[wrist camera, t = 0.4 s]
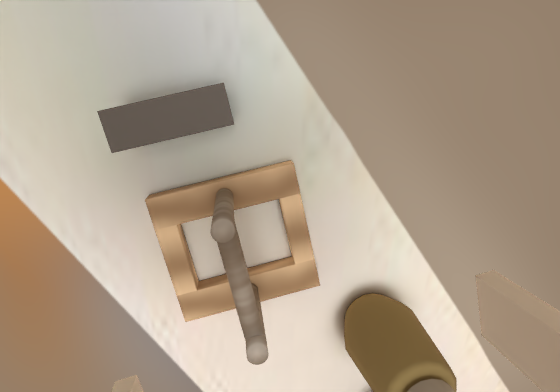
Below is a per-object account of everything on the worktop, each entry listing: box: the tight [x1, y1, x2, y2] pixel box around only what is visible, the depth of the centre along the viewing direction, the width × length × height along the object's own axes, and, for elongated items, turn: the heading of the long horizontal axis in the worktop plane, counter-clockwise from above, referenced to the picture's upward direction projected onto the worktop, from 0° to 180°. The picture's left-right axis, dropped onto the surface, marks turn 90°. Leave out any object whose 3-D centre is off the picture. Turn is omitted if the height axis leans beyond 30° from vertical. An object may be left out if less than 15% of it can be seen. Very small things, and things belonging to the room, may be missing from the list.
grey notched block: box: [97, 83, 234, 153], centre depth 30 cm, size 9×3×8 cm, turn 103°
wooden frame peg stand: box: [145, 160, 320, 365], centre depth 32 cm, size 13×14×12 cm
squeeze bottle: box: [344, 293, 456, 392], centre depth 33 cm, size 8×8×18 cm
